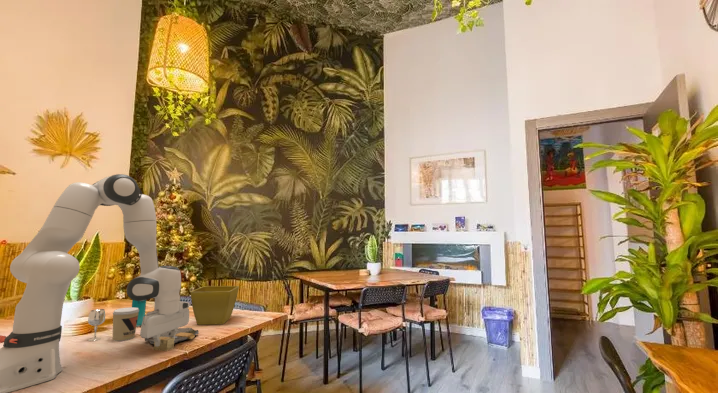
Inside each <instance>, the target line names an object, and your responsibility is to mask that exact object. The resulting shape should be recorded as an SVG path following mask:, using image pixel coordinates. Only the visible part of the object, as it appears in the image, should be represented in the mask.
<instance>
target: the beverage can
mask: <svg viewBox="0 0 718 393" xmlns="http://www.w3.org/2000/svg"><path fill="white" fill-rule="evenodd" d="M131 300H132V299H131ZM146 305H147V300H143V301H135V300H132V301H131V307H135V308H138V309H139V312H138V319H137V325H136V328H141V326H142V322H143V317H144V316H145V315H146V308H147V306H146Z"/></svg>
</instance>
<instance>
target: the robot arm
mask: <svg viewBox="0 0 718 393" xmlns="http://www.w3.org/2000/svg"><path fill="white" fill-rule="evenodd" d="M99 206H104V207H105V206H106V207H111V206H117V207H118V208H120V210H121V213H122V219H123V220H122V222H123V226H122V228H123V232H124V237H125V239H126V241H127V242H128V243H130V244H131V245H132V246H134V248H135V249H136V250H137V252H138V254H139V255H138V256H139V264H140V275H139V276H137V277H135V278H134V277H133V279H131V280H130V281H129V283H127V287H126V294H127V296H128V297H129V299H131V300H135V301H143V300H146V301H147V300H151V299H154V306H153V307H154V309H153V310H152V311H148V312H146V313H145V316H144V317H143V322H142V326H141V327H140V330H139V331H140V332H139V337H140V338H142V339H145V338H151V337H153V339H154V341H155V346H157V347H158V346H160V345H162V341H160V339H159V337H160V334H162V333H165V332H168V331H172V332H171V335H170V336H169V337H173V338H174V340H175V335H176V333H177V331H178V328H183V327H185V326H187V325H188V324H189V321H190V307H191V305H190V304H191V303H190V302H188V301H182V300H181V294H180V291H181V289H182V274H181V270H180V269H179V267H176V266H172V265H161V266H160V265H159V258H158V249H157V228H158V227H157V215H156V214H157V213H156V208H155V204H154V200H153V199H152V197H150V195H147V194H143V192H142V190H141V188H140V187H139V185H138V183H137V181H136V180H135V179H134V178H133V177H132V176H130V175H127V174H125V173H124V174H123V173H122V174H119V173H116V174H112V175H110V176H109V175H108V176H106V177H104V178H103V177H102V179H100V180H98V181H96V182H95V183H93V184H90V183H87V182H81V181H80V182H73V183H71V184H69V185H68V186H67V187H66V188H65V189H64V191H63V192H62V193H61V194H60V196H59V197H58V199H57V200H56V202H55V203H54V205H53V207H52V209H51V211H50V212H49V214H48V215H47V218H46V219H45V221H44V222H43V225H42V227H41V228H40V229H39V231H38V232H37V233H36V235H35V236H34V237H33V239H31V240H30V241H29V243H28V244H27V246H26V247H25V248H24V249H23V251H22V252H21V253H20V254H19V255H17V256H16V257H15V258H13V260H12V261H11V263H10V266H9V271H10V273H11V275H12V277H14V278H15V279H16V280H18V281H20V282H22V283H25V284H26V286H25V289H24V292H23V294H22V297H21V299H20V300H19V302H18V303H17V304H16V305H15V311H14V317H13V324H12V330H11V332H10V333H9V334H8V335H7V336H5V335H0V344H2V347H0V393H11V392H15V391H18V390H21V389H25V388H29V387H31V386H35V385H39V384H42V383H45V382H49V381H51V380H54V379H56V377H57V375H58V374H60V373H61V372H62V370H63V368H62V364H61V357H60V341H61V337H62V332H63V331H62V330H63V326H62V325H61V323H62V317H63V316H62V315H63V309H64V308H63V307H64V301H65V298H66V297H67V296H66V295H67V293H68V290H69V288H70V285H71V283H72V281H74V279H75V278H76V277H77V276H78V274H79V271H80V268H81V267H80V262H79V260H78V259H77V258H76V257H75V256H73V255H71V254H69V252H70V250H71V249H72V248H73V247H74V246H75V245H76V244H77V243H78V242H79V241H81V239H82V238H83V237H84V235H85V233H86V231H87V229H88V227H89V225H90V222H91V221H92V218H93V216H94V214H95V211H96V210H97V209H98V207H99Z"/></svg>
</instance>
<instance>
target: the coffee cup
mask: <svg viewBox="0 0 718 393" xmlns="http://www.w3.org/2000/svg"><path fill="white" fill-rule="evenodd" d="M138 312H139V309H138V308H135V307H132V306H131V307H123V308H121V307H120V308H118V309H115V310H113V312H112V315H113V316H112V341H114V342H123V341H124V342H125V341H128V340H132V339H134V338H135V335H136V331H137V327H136V325H137V319H138Z"/></svg>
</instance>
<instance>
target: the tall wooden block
mask: <svg viewBox="0 0 718 393" xmlns="http://www.w3.org/2000/svg"><path fill="white" fill-rule="evenodd" d="M159 339H160V341H162V345H160V346H158V347H157V346H155V341H154V344H153V351H162V352H168V351H170V350H173V349H174V347H175V346H174V345H175V343H174V338H173V337H159Z"/></svg>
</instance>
